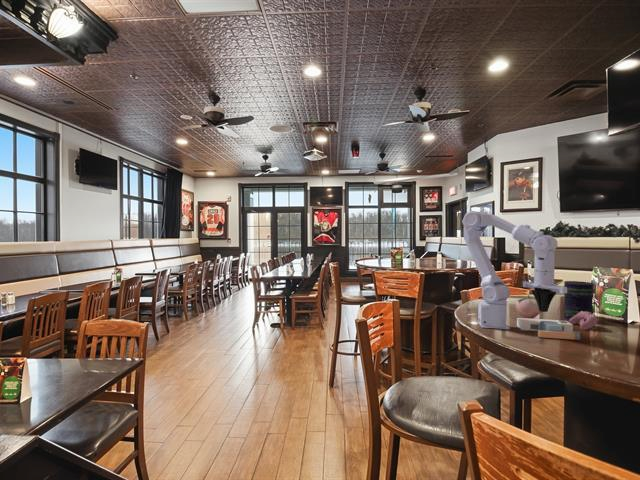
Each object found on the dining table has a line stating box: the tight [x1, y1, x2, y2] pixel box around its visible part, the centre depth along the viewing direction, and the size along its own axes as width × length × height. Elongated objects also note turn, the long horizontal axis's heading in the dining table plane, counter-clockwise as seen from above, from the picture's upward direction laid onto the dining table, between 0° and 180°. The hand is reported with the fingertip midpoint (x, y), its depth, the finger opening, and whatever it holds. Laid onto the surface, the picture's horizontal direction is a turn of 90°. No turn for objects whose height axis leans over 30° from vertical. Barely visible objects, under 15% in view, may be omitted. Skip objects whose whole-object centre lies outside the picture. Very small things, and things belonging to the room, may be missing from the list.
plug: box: [540, 321, 562, 332], centre depth 122 cm, size 5×7×4 cm
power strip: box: [516, 317, 574, 333], centre depth 128 cm, size 16×6×3 cm, turn 76°
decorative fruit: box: [515, 294, 542, 319], centre depth 143 cm, size 9×8×10 cm
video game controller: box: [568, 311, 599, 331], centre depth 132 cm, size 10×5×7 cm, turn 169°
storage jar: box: [563, 280, 595, 321], centre depth 144 cm, size 10×10×15 cm
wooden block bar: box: [537, 330, 581, 341], centre depth 117 cm, size 12×2×2 cm, turn 76°
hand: (543, 311), depth 120 cm, fingers closed
